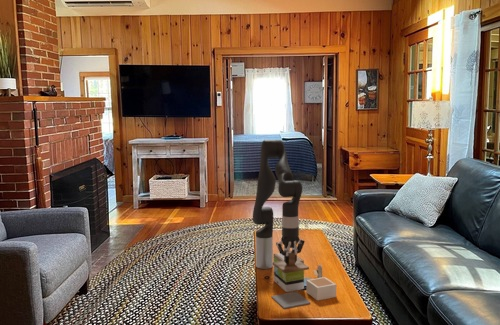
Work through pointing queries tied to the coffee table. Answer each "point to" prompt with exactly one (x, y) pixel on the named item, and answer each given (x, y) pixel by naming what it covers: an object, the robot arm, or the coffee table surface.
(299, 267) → the lid
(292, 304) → the mat
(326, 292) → the white square box
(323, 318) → the coffee table surface
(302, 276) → the tea box
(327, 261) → the coffee table surface
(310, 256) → the coffee table surface
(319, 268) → the architectural model
